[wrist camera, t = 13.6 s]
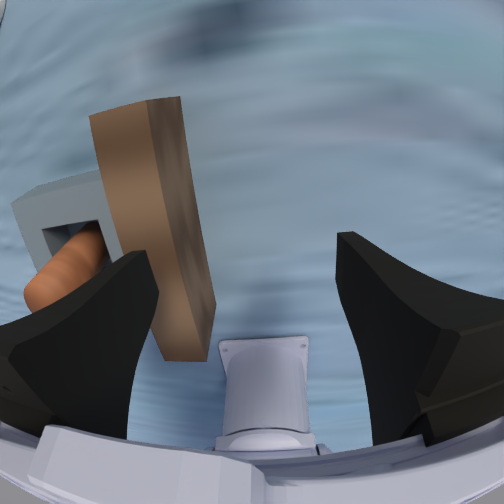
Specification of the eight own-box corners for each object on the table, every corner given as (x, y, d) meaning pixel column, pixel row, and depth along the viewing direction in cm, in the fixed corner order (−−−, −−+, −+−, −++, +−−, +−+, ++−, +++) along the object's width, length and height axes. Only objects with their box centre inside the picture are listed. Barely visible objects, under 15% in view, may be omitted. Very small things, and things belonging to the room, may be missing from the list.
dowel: (120, 257, 22) (74, 329, 15) (87, 259, 22) (37, 325, 15) (110, 219, 20) (52, 283, 13) (76, 223, 20) (16, 283, 13)
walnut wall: (216, 304, 24) (206, 361, 19) (181, 305, 25) (164, 360, 19) (179, 96, 16) (145, 100, 11) (135, 105, 17) (88, 115, 11)
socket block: (175, 281, 24) (162, 313, 20) (77, 285, 25) (58, 313, 21) (144, 158, 19) (121, 175, 15) (40, 184, 20) (10, 203, 16)
